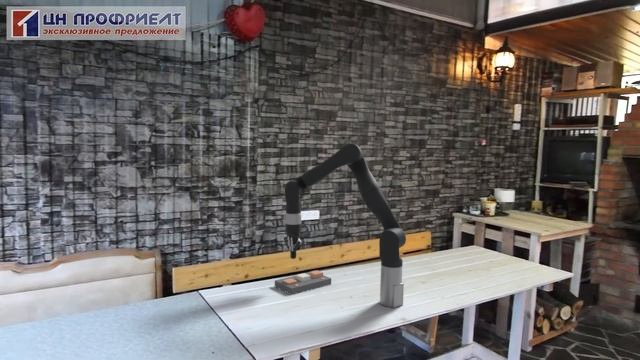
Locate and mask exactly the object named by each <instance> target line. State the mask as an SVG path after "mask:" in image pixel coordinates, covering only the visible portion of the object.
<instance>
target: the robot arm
mask: <svg viewBox="0 0 640 360" xmlns="http://www.w3.org/2000/svg"><path fill="white" fill-rule="evenodd" d="M345 165H347V166H348V167H349V169H350V171H351V172H352V175H353V176H354V178H355V180H356V185H357V188H358V189H357V190H358V193H359V194H360V197H361V199H362V201H363V203H364V204H365V206H366V208H367V209H368V211H370V213H372V215H374V217H375V218H376V219H377V220H378V221H379V223H380V224H381V226H382V229H383V231H382V232H381V233H380V236H379V242H378V243H379V244H378V245H379V248H378V249H379V252H378V253H379V254H378V255H379V260H380V284H379V288H380V289H379V304H381V305H382V306H384V307H387V308H388V307H389V308H393V309H394V308H397V307H400V306H403V305H404V292H405V291H404V289H405V288H404V285H405V284H404V283H403V263H404V262H403V259H402V258H401V257H400V248H402V247H403V246H404V245H405V244H406V243H407V242H406V240H407V236H406V233H405V231H404V230H403V228H402V226H401V225H400V223H399V221H398V219H397V218H396V217H395V215H394V214H393V211H392V209H391V207H390V205H389V203H388V201H387V199H386V197H385V195H384V193H383V190H382V189H381V187H380V185H379V182H377V180H376V178H375V177H374V176H373V174H372V172H371V171H370V169H369V166H368V164H367V161H366V159H365V156H364V152H363V151H362V149H361V148H360V147H359V145H358V144H355V143H352V142H349V143H347V144H345V145H344V146H342V147H341V148H340V149H339V150H338V151H336V152H335V153H333V155H331V156H329V157H328V158H327V159H326V160H324V161H322V162H321V163H319V164H317V165H316V166H314V167H312V168H311V169H308V170H306V171H305V172H304V173H302V174H301V175H300V176H298V177H296V178H293V179H292V180H289V181H288V182H286V184H285V185H284V197H285V199H284V200H285V219H284V221H285V229H284V231H285V234H286V236H285V237H283V241H284V243H285V245H286V248H287V249H289V252H290V253H289V255H290V259H292V260H294V259H297V251H300V249H301V247H302V245H303V244H304V241H303V240H301V235H300V233H302V204H301V201H300V193H301V192H303V191H305V190H306V189H309V188H310V187H312V186H315V185H316V184H318V183H319V182H321V181H323V180H324V179H326V178H327V177H328V176H329V175H331V174H332V173H333V172H334V171H336V170H337V169H339V168H341V167H343V166H345Z"/></svg>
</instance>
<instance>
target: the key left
mask: <svg viewBox="0 0 640 360" xmlns="http://www.w3.org/2000/svg"><path fill="white" fill-rule="evenodd" d="M283 283H284V284H287V285H292V284H296V283H297V281H296V280H294V279H292V278H290V279H286V280H283Z"/></svg>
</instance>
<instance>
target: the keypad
mask: <svg viewBox="0 0 640 360" xmlns="http://www.w3.org/2000/svg"><path fill="white" fill-rule="evenodd" d="M304 273H305V274H308V275H309V272H304ZM290 278H292V279H294V280H296V275H292V276H287V277H284V278H280V279H275V280H274V287H275V286H276V287H275V288H277V287H278V288H277V289H279V288H280V289H279V290H281V289H282V290H281V291H283V290H284V291H283V292H285V291H286V292H285V293H287V292H288V293H287V294H289V293H290V294H289V295H291V296H293V295H296V293H297V294H300V293H304V292H308V291H311V289H312V290H314V289H318V288H319V289H320V288H322V287H327V286H330V285H332V278H331V277H329V276H326V275H324V274H323V277H321V278H317V279H314V278H312V277H311V280H308V281H304V282H301V281H299V280H296V281H297V283H296V284H292V285H287V284H284V283H283V280H286V279H290ZM307 290H308V291H307ZM303 291H304V292H303ZM292 294H293V295H292Z"/></svg>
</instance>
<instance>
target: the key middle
mask: <svg viewBox="0 0 640 360" xmlns="http://www.w3.org/2000/svg"><path fill="white" fill-rule="evenodd" d="M305 273H306V272H304V273H303V272H302V273H299V274H296V275H295V276H296V280H299V281H301V282H304V281H308V280H311V276H310V275H308V274H305Z"/></svg>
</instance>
